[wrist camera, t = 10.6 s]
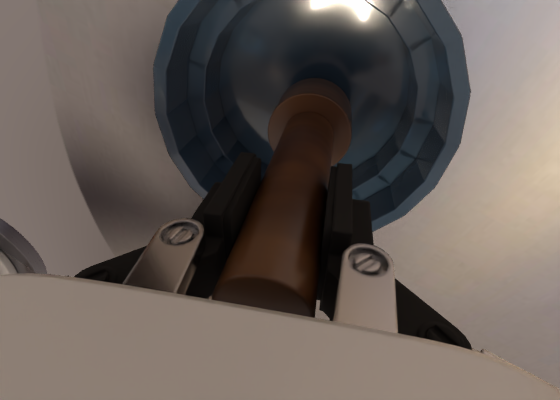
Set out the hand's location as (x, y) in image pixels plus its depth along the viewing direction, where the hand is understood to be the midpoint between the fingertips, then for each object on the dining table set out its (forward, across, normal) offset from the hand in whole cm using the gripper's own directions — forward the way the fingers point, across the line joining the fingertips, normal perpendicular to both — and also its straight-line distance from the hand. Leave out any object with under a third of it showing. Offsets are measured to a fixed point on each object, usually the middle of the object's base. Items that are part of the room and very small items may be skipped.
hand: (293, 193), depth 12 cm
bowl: (+11, 0, 0) cm, 11 cm away
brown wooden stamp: (+9, 0, 0) cm, 9 cm away
